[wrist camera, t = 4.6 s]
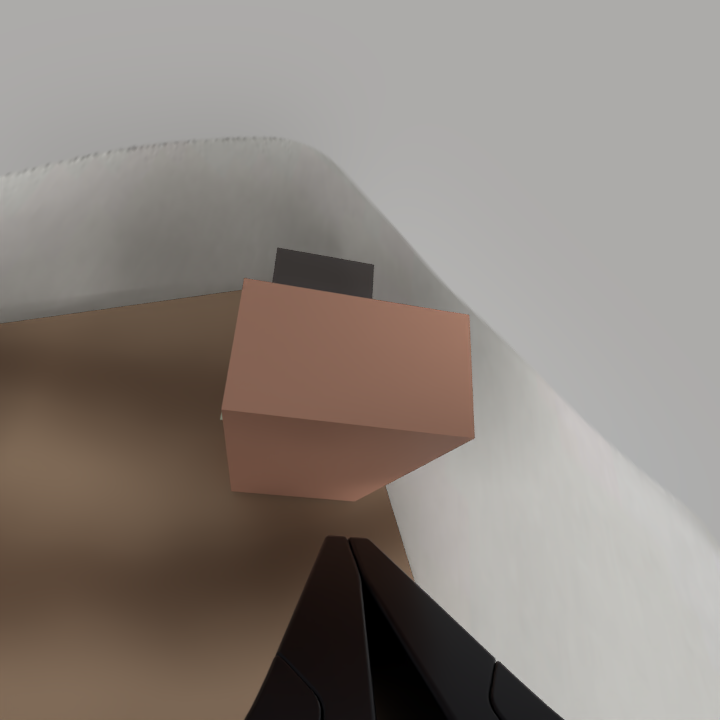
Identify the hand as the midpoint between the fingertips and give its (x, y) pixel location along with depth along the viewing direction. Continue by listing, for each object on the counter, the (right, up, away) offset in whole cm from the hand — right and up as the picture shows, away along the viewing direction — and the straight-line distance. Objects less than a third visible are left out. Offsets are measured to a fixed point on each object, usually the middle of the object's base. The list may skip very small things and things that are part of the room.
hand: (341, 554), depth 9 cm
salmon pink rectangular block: (-2, 0, +8) cm, 9 cm away
